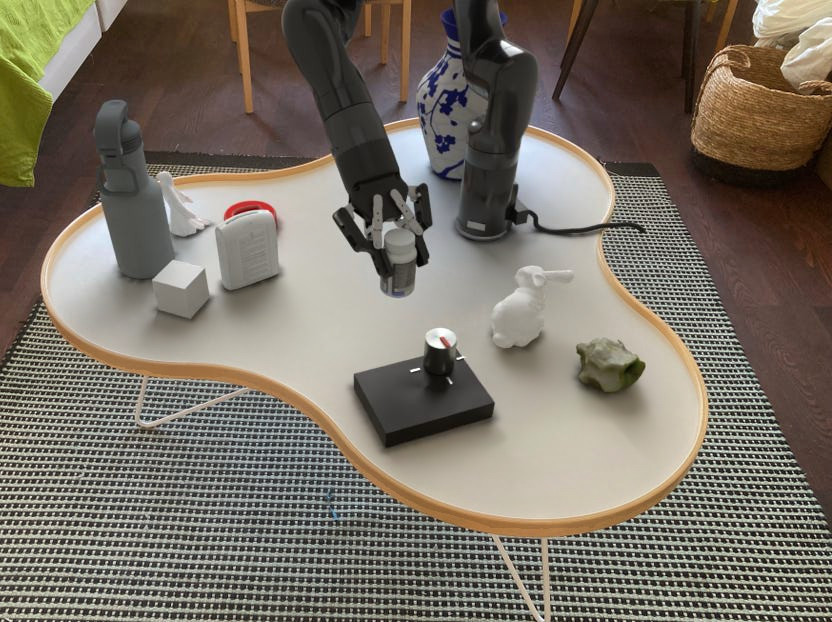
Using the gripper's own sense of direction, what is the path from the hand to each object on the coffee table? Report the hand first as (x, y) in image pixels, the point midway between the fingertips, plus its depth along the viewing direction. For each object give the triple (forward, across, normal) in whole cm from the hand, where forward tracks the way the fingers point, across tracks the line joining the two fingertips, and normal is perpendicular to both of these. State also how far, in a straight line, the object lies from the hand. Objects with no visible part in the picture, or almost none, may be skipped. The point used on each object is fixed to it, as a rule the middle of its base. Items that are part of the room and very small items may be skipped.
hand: (406, 270), depth 96 cm
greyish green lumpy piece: (+24, +25, +1) cm, 35 cm away
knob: (+14, +4, +8) cm, 16 cm away
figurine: (-23, -13, +50) cm, 57 cm away
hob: (+18, -1, +8) cm, 19 cm away
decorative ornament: (-19, -3, +46) cm, 50 cm away
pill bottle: (+2, 0, +4) cm, 5 cm away
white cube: (-9, -22, +35) cm, 42 cm away
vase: (-19, +43, +45) cm, 65 cm away
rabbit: (+14, +21, +12) cm, 28 cm away
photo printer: (-9, -10, +36) cm, 38 cm away
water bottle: (-18, -24, +44) cm, 54 cm away
